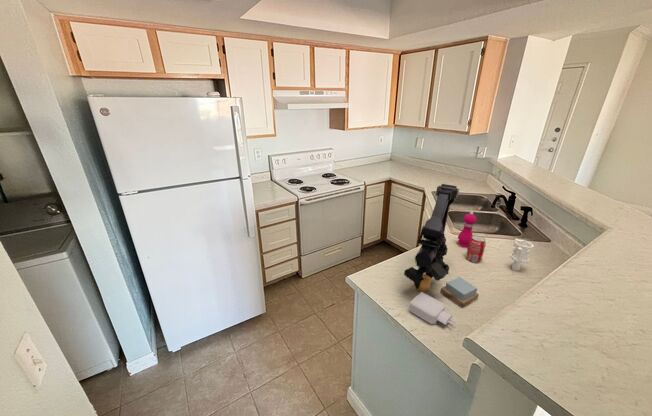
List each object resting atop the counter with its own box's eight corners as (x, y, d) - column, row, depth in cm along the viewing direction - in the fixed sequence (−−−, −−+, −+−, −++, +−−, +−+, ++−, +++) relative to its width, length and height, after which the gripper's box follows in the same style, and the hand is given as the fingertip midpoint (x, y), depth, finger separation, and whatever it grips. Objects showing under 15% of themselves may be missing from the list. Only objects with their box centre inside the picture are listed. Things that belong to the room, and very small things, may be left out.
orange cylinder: (411, 286, 114) (413, 276, 112) (421, 281, 117) (422, 272, 115) (422, 294, 109) (424, 284, 107) (432, 289, 112) (434, 279, 110)
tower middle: (445, 288, 109) (446, 282, 108) (458, 282, 112) (459, 276, 111) (462, 300, 102) (464, 294, 101) (475, 294, 106) (477, 288, 105)
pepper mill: (458, 240, 151) (465, 208, 143) (472, 244, 147) (480, 211, 140) (455, 245, 146) (462, 212, 138) (469, 249, 142) (478, 215, 134)
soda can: (476, 255, 137) (481, 234, 132) (483, 263, 130) (490, 241, 126) (462, 255, 137) (467, 234, 132) (469, 263, 130) (475, 241, 125)
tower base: (439, 293, 110) (441, 288, 109) (454, 286, 115) (456, 280, 114) (462, 309, 102) (463, 303, 101) (477, 300, 107) (478, 294, 106)
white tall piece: (507, 262, 131) (515, 235, 125) (524, 267, 127) (534, 240, 121) (506, 269, 126) (515, 241, 120) (524, 275, 122) (534, 246, 116)
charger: (447, 336, 90) (408, 311, 100) (458, 321, 96) (420, 300, 106) (450, 325, 88) (410, 302, 98) (461, 311, 94) (422, 290, 104)
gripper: (429, 271, 96) (422, 305, 101) (460, 257, 104) (453, 289, 110) (405, 256, 104) (401, 288, 110) (436, 244, 113) (430, 275, 119)
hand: (422, 285), depth 112 cm, fingers closed on orange cylinder, 6 cm apart
